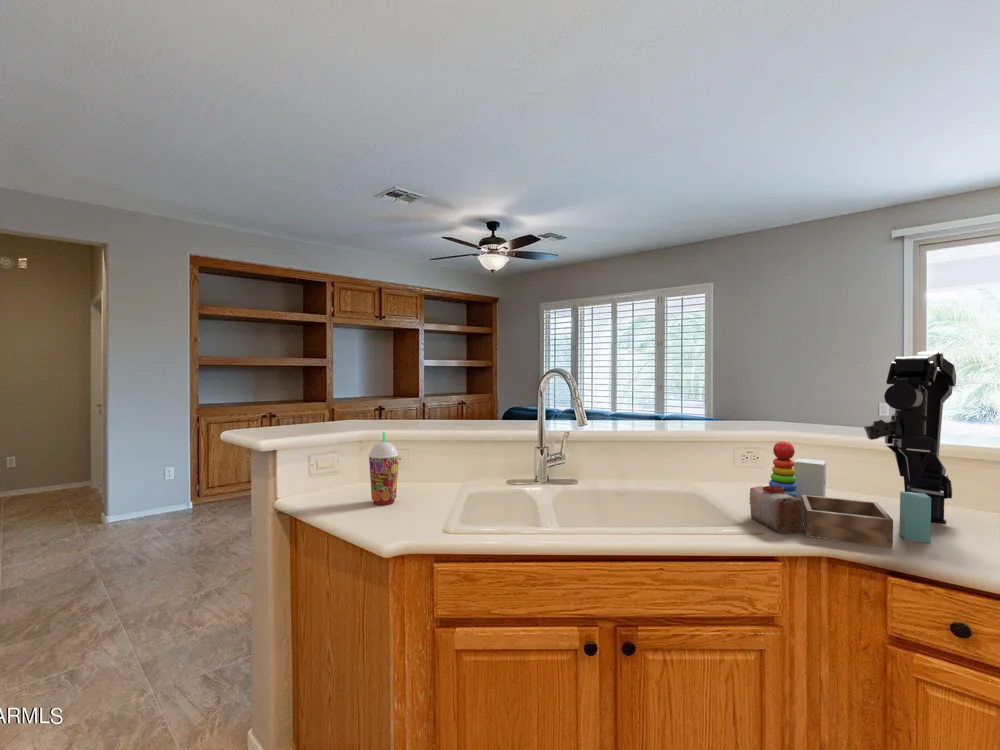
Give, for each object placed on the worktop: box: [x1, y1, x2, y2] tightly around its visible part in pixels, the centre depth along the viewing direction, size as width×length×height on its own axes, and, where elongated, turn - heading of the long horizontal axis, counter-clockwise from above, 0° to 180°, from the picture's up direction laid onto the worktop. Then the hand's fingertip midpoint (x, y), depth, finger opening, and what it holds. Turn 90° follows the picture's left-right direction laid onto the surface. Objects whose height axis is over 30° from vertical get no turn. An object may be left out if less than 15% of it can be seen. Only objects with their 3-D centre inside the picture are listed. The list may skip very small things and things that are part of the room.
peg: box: [898, 490, 932, 544], centre depth 117 cm, size 5×5×10 cm
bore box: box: [801, 495, 894, 549], centre depth 122 cm, size 16×16×6 cm
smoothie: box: [368, 431, 400, 506], centre depth 146 cm, size 8×8×20 cm
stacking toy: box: [768, 440, 798, 499], centre depth 140 cm, size 8×8×19 cm
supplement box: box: [793, 458, 827, 500], centre depth 144 cm, size 7×7×13 cm
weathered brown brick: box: [748, 485, 803, 534], centre depth 127 cm, size 14×8×10 cm, turn 3°
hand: (907, 478), depth 118 cm, fingers open, 9 cm apart
